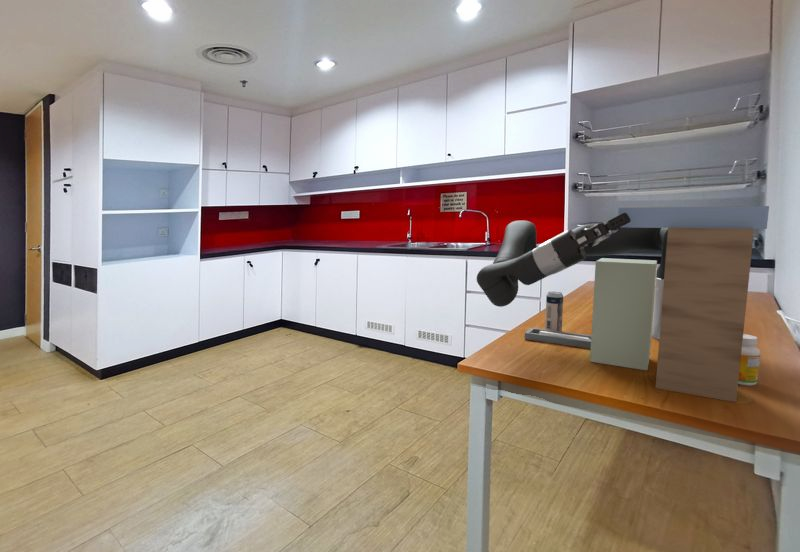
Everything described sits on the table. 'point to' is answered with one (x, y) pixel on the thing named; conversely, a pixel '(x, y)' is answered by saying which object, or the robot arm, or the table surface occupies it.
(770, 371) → the table surface
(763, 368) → the table surface
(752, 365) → the supplement bottle
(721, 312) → the walnut stand
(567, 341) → the pen tray
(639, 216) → the blue block
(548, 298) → the beer can
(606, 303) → the pale green tall block
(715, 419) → the table surface
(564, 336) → the white hexagonal pencil
